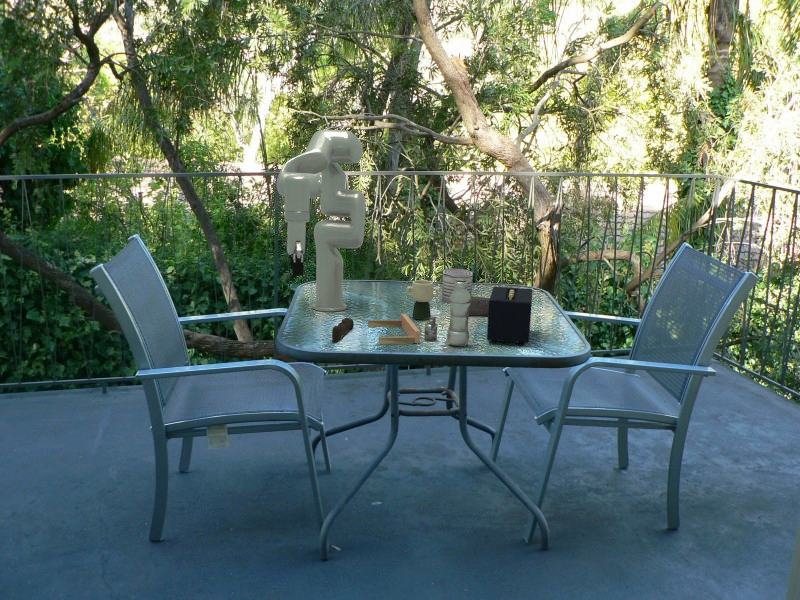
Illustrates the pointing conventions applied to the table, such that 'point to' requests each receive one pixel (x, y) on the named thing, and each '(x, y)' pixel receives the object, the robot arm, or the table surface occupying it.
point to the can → (450, 279)
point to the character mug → (422, 297)
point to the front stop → (410, 328)
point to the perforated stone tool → (479, 306)
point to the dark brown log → (342, 329)
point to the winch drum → (431, 330)
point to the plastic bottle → (459, 314)
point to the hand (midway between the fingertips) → (296, 272)
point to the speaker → (509, 315)
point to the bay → (391, 339)
